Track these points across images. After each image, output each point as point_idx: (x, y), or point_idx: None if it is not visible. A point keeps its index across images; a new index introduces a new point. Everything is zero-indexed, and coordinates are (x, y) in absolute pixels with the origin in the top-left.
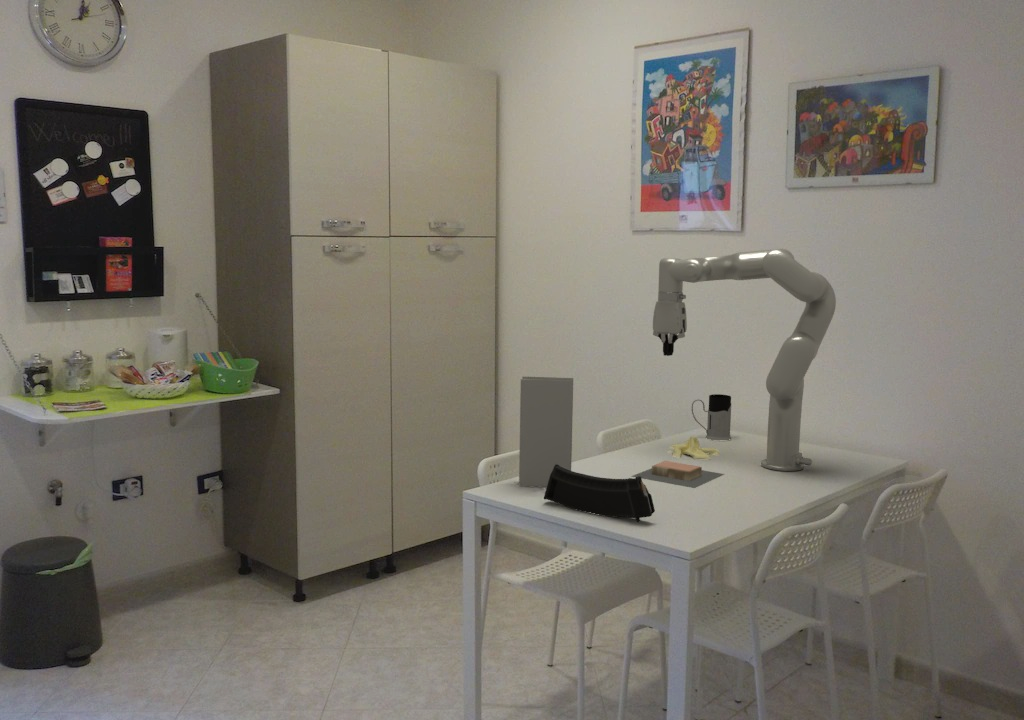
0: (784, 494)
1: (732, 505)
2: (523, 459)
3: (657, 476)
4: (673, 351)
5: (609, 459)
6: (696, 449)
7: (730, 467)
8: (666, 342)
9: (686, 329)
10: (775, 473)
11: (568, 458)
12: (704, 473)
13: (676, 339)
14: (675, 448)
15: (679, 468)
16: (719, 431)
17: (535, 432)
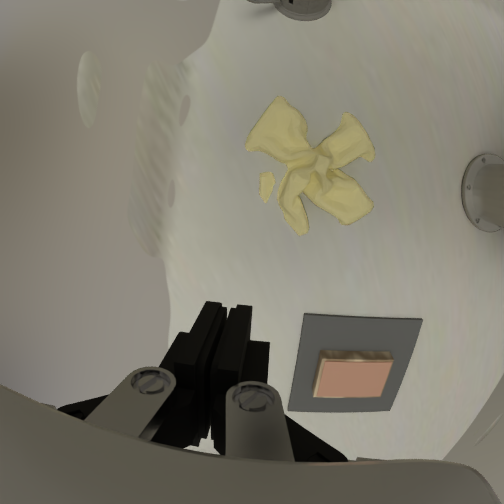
0: (491, 355)
1: (434, 427)
2: None
3: None
4: (269, 342)
5: None
6: (334, 185)
7: (421, 252)
8: (195, 434)
9: (497, 499)
10: (486, 249)
11: None
12: (392, 337)
13: (309, 448)
14: (289, 207)
15: (362, 391)
16: (316, 7)
17: None
